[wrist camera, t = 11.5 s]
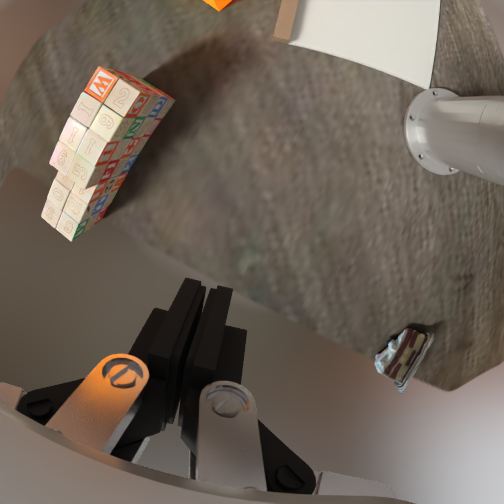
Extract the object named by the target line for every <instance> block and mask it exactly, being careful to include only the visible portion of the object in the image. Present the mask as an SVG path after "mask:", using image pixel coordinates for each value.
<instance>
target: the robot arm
mask: <svg viewBox="0 0 504 504" xmlns="http://www.w3.org/2000/svg"><path fill="white" fill-rule="evenodd" d="M433 93H434V95H433ZM410 116H411V119H410ZM404 135H405V140H406V144H407V146H408V148H409V151H410V153H411V154H412V156H413V158H414V159H415V160H416V161H417V162H418V163H419V164H420V165H421V166H422V167H423V168H425V169H426V170H428V171H430V172H432V173H435V174H439V175H451V174H454V173H457V172H459V171H463V172H466V173H469V174H472V175H475V176H478V177H480V178H483V179H486V180H488V181H491V182H494V183H496V184H499V185H501V186H504V96H470V97H459V96H458V95H457V94H455V93H453V92H452V91H449V90H447V89H443V88H431V89H426V90H424V91H422V92H420V93H419V94H417V95H416V96H415V97H414V98H413V99H412V101H411V102H410V103H409V106H408V108H407V110H406V113H405V117H404ZM419 155H420V157H419ZM205 292H206V287H205V286H201V281H198V280H194V279H189V278H185V280H184V282H183V284H182V285H181V287H180V289H179V291H178V293H177V295H176V297H175V299H174V301H173V303H172V305H171V307H170V309H169V311H166V310H162V309H159V308H154V309H153V311H152V313H151V314H150V316H149V318H148V320H147V321H146V323H145V325H144V327H143V328H142V330H141V332H140V334H139V336H138V337H137V339H136V341H135V343H134V344H133V346H132V348H131V350H130V352H129V354H114V355H111V356H108V357H106V358H104V359H103V360H102V361H101V362H100V363H99V364H98V365H97V366H96V367H95V368H94V370H93V371H92V372H91V373H90V374H89V375H88V376H87V377H86V378H83V379H79V380H76V381H71V382H67V383H63V384H59V385H54V386H50V387H46V388H41V389H36V390H33V391H31V392H28V393H25V392H24V391H23V389H22V388H19V387H16V386H12V385H9V384H6V383H3V382H0V504H415V503H411V502H408V501H405V500H399V499H396V495H395V492H394V491H393V489H392V488H391V487H390V486H389V485H387V484H386V483H383V482H379V481H373V480H367V479H361V478H355V477H351V476H346V475H341V474H337V473H332V472H328V471H324V470H323V471H322V472H321V473H319V472H315V471H313V470H312V469H311V468H310V467H309V466H308V465H307V464H306V463H305V462H304V461H303V460H302V459H301V458H299V457H298V456H297V455H296V454H295V453H294V452H293V451H291V450H290V449H289V448H288V447H287V446H286V445H285V444H284V443H283V442H281V440H279V439H278V438H277V437H276V436H275V435H274V434H273V433H272V432H271V431H270V430H268V428H267V427H266V426H265V425H264V424H263V423H261V422H260V421H259V420H258V419H257V413H256V405H255V401H254V398H253V396H252V394H251V393H250V392H249V391H248V390H247V389H246V388H245V387H243V386H241V378H242V369H243V361H244V353H245V344H246V336H247V330H245V329H240V328H235V327H231V326H227V325H225V323H226V319H227V314H228V309H229V305H230V300H231V296H232V292H233V289H232V288H227V287H223V286H219V285H218V286H217V289H213V288H211V289H210V292H209V294H208V297H207V300H206V303H205V306H204V309H203V303H204V297H205ZM202 309H203V312H202ZM180 399H181V400H180ZM179 402H180V409H179V418H178V426H181V427H182V431H181V439H182V440H183V441H184V443H185V444H186V445H187V447H188V448H189V449H190V454H189V479H188V478H184V477H180V476H176V475H172V474H168V473H164V472H161V471H157V470H154V469H150V468H147V467H144V466H140V465H137V464H136V463H137V461H138V459H139V457H140V456H141V453H142V452H143V450H144V448H145V447H146V445H147V443H148V440H149V438H150V436H151V435H154V434H157V433H159V432H160V430H161V431H164V430H165V427H166V424H167V423H170V424H173V422H174V419H175V415H176V412H177V409H178V405H179Z"/></svg>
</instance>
